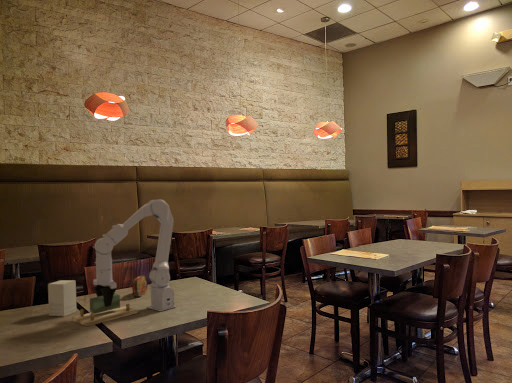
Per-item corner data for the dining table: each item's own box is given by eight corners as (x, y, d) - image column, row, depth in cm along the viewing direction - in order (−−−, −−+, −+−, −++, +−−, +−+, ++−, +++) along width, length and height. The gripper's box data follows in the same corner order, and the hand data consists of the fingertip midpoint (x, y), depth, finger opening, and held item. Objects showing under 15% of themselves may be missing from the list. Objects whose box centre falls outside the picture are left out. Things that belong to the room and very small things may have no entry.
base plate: (137, 312, 153) (137, 303, 153) (86, 326, 138) (86, 315, 138) (121, 308, 161) (121, 299, 161) (72, 320, 146) (71, 310, 146)
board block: (120, 307, 152) (119, 294, 152) (95, 313, 144) (94, 300, 144) (114, 305, 154) (114, 293, 155) (90, 311, 147) (89, 298, 147)
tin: (138, 298, 177) (137, 279, 177) (131, 298, 177) (130, 280, 177) (148, 290, 192) (147, 273, 192) (141, 291, 192) (141, 273, 192)
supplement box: (77, 311, 158) (76, 280, 159) (63, 316, 151) (62, 284, 152) (62, 310, 160) (61, 279, 161) (48, 315, 153) (47, 283, 154)
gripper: (85, 269, 152) (86, 304, 151) (103, 273, 142) (104, 310, 142) (102, 266, 157) (103, 300, 157) (121, 270, 147) (122, 306, 147)
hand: (105, 305), depth 149 cm, fingers closed on board block, 4 cm apart
